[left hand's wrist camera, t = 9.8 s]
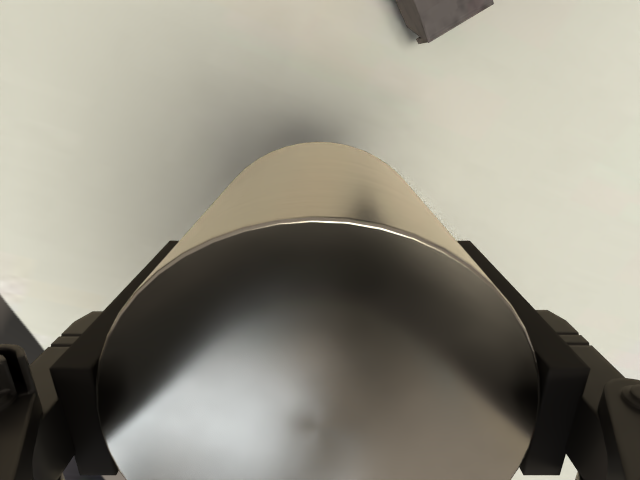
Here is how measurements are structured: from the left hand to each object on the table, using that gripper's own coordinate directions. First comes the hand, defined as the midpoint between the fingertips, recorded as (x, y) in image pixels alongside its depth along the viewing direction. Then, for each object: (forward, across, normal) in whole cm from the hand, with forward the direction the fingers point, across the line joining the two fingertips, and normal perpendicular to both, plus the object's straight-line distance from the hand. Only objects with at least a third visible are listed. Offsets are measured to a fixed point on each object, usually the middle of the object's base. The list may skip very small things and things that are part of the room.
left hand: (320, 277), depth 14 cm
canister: (+2, 0, 0) cm, 2 cm away
